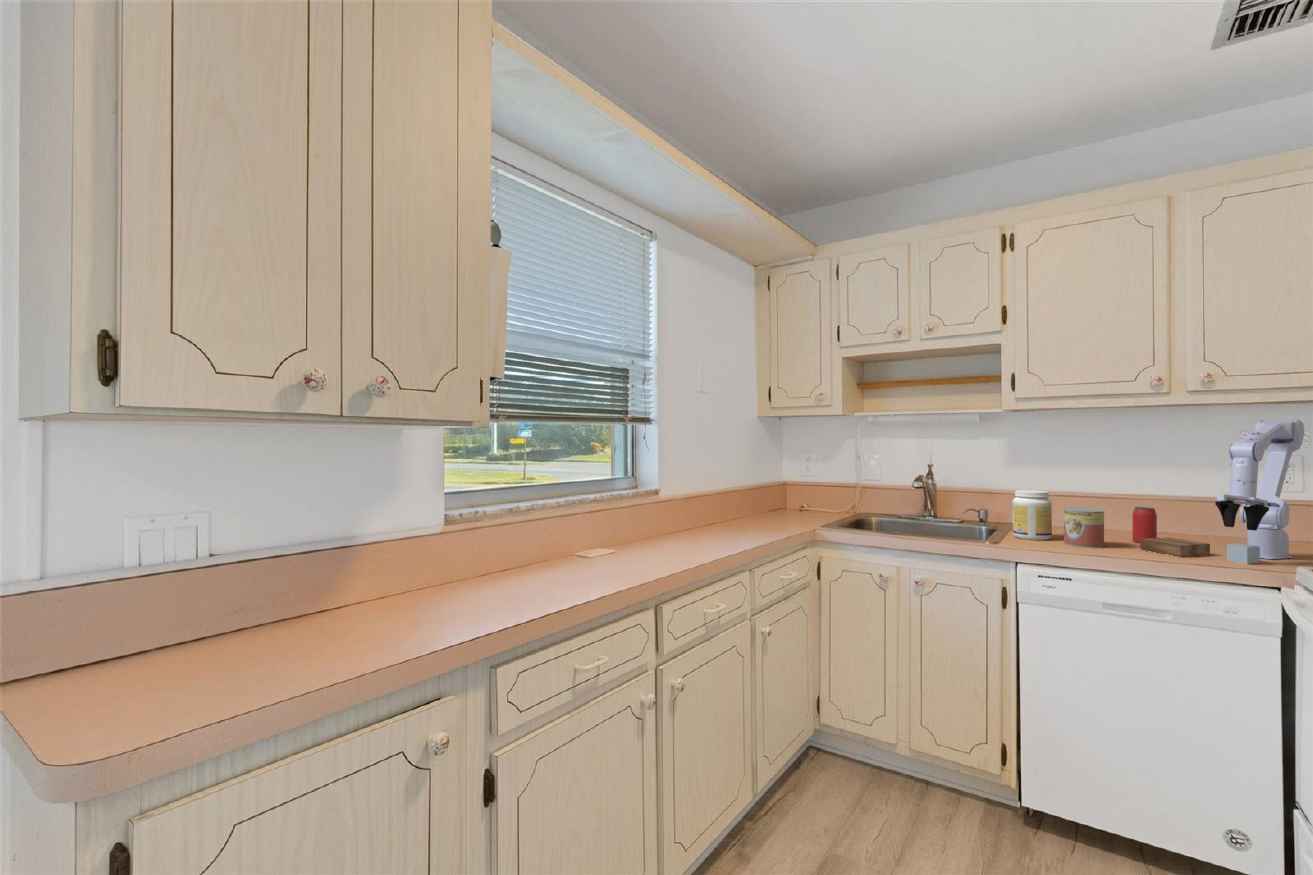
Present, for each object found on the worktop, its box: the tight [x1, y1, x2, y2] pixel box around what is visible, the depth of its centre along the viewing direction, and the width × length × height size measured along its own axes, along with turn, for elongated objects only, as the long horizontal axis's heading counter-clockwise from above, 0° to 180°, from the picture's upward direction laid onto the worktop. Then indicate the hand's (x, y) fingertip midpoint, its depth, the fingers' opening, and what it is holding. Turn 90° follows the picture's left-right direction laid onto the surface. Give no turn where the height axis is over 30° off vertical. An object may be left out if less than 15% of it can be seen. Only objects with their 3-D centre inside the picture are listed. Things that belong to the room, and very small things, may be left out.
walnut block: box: [1139, 537, 1211, 558], centre depth 193 cm, size 12×12×4 cm
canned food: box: [1063, 507, 1105, 549], centre depth 207 cm, size 11×11×12 cm
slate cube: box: [1226, 543, 1261, 565], centre depth 178 cm, size 5×5×5 cm
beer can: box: [1132, 506, 1158, 544], centre depth 211 cm, size 7×7×12 cm
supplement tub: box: [1011, 489, 1053, 541], centre depth 221 cm, size 12×12×17 cm
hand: (1240, 528), depth 178 cm, fingers open, 7 cm apart
